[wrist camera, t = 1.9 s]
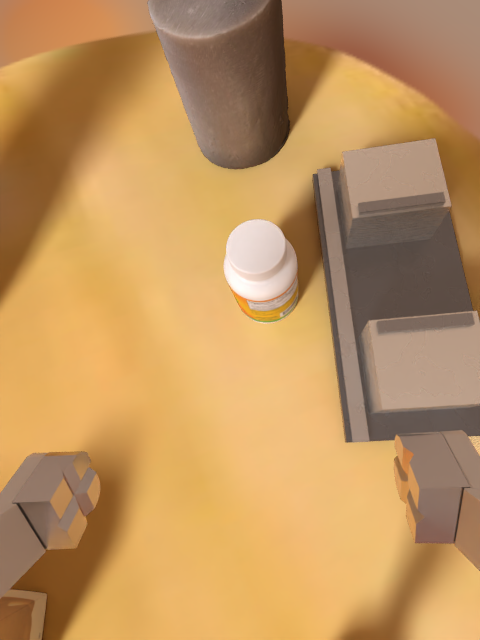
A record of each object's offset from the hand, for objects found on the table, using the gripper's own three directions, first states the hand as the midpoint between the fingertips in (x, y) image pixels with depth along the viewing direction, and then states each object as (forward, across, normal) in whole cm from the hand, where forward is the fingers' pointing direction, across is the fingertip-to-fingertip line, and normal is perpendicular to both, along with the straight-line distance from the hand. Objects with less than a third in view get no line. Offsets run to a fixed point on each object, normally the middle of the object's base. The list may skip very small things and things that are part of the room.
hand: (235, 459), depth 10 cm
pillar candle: (+37, +2, -7) cm, 38 cm away
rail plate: (+24, -10, +7) cm, 27 cm away
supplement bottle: (+24, 0, +6) cm, 25 cm away
